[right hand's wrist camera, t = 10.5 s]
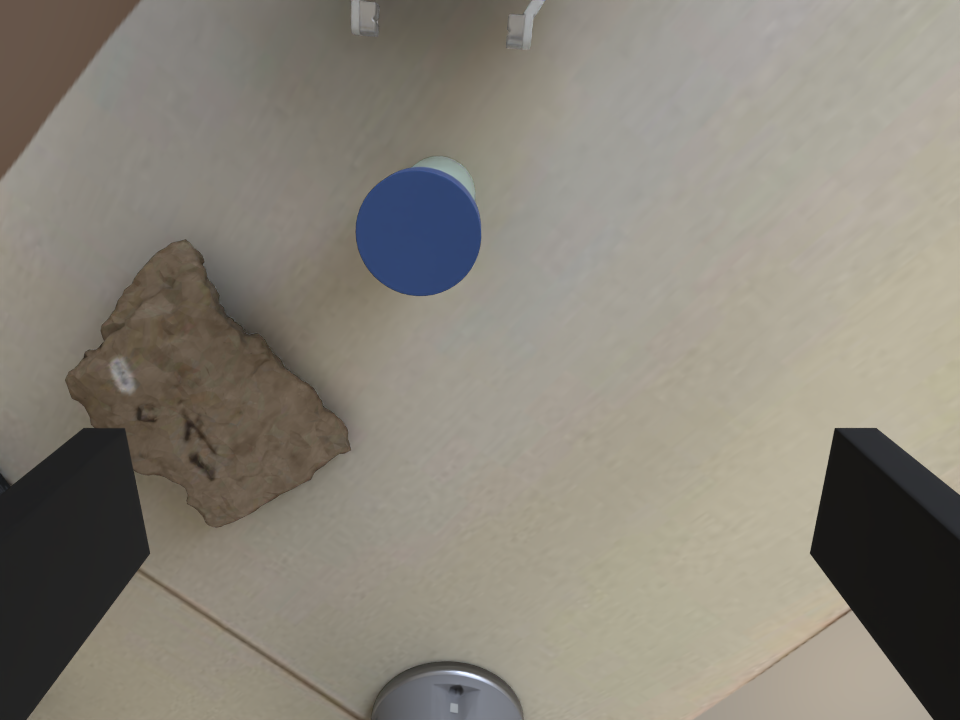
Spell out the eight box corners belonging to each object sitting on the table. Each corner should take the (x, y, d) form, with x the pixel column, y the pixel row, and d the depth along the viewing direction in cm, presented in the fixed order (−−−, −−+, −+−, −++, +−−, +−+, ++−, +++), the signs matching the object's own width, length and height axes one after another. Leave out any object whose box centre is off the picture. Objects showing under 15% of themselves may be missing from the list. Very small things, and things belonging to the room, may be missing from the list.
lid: (339, 235, 36) (330, 242, 34) (412, 140, 34) (407, 142, 32) (431, 308, 37) (428, 320, 35) (505, 220, 36) (507, 227, 34)
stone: (27, 346, 51) (-1, 374, 46) (185, 228, 52) (176, 242, 46) (223, 518, 61) (218, 559, 55) (356, 417, 61) (365, 448, 56)
